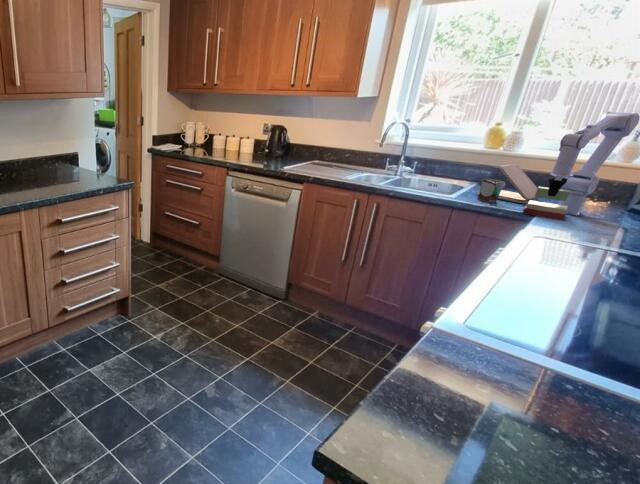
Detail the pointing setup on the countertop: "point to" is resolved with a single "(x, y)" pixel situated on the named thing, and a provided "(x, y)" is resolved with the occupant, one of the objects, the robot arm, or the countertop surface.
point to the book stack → (545, 210)
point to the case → (517, 185)
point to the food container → (490, 190)
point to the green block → (561, 196)
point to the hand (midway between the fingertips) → (551, 195)
